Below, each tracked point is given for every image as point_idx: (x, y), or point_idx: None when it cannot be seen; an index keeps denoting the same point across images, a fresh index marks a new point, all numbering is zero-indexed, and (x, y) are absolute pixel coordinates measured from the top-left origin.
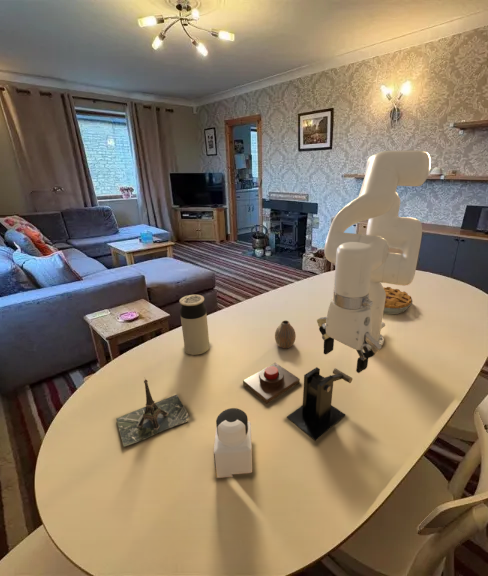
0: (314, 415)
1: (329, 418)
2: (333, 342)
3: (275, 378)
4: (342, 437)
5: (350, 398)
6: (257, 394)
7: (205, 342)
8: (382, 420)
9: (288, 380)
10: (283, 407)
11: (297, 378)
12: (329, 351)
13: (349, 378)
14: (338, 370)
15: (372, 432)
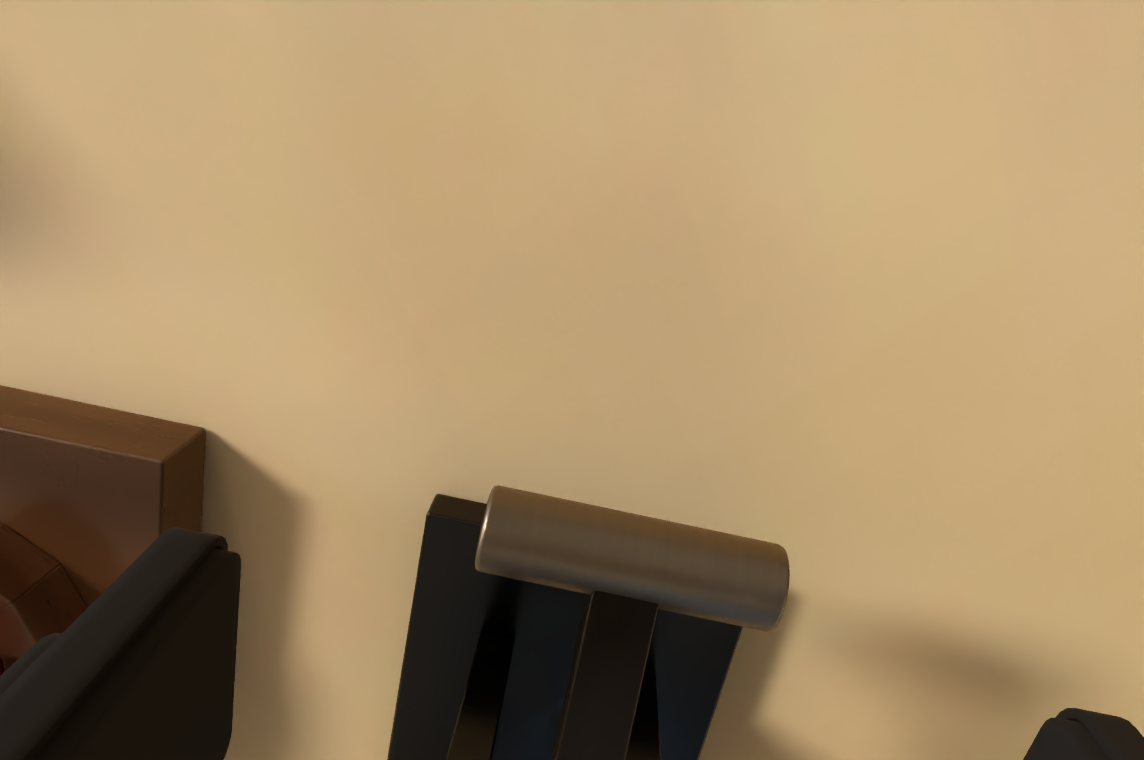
0: (542, 716)
1: (658, 681)
2: (104, 729)
3: (1, 672)
4: (799, 717)
5: (707, 308)
6: None
7: None
8: (1063, 405)
9: (100, 544)
10: (287, 705)
11: (142, 469)
12: (222, 678)
13: (763, 625)
14: (547, 553)
15: (1000, 570)
